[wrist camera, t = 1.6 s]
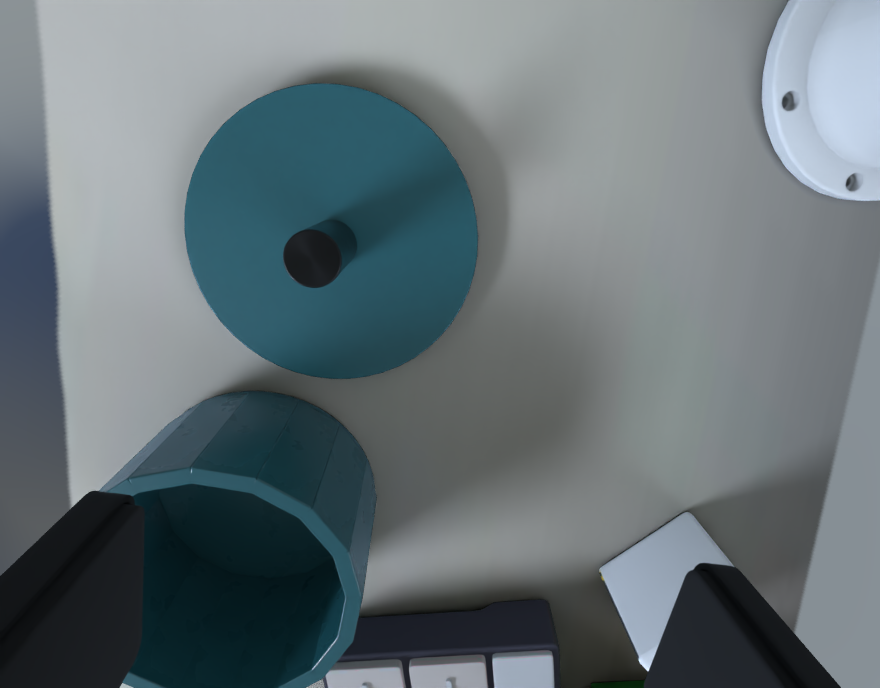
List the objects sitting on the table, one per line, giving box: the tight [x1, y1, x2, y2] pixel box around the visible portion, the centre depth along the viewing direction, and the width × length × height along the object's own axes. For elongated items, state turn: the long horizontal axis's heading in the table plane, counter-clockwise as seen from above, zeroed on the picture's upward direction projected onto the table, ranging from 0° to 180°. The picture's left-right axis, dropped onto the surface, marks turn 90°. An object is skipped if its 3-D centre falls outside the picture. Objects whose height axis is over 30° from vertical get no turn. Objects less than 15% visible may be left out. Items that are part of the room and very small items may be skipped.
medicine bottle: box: [599, 512, 734, 671], centre depth 28 cm, size 7×7×12 cm
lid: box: [185, 83, 478, 379], centre depth 24 cm, size 15×15×6 cm
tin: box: [99, 391, 377, 688], centre depth 27 cm, size 14×14×8 cm
